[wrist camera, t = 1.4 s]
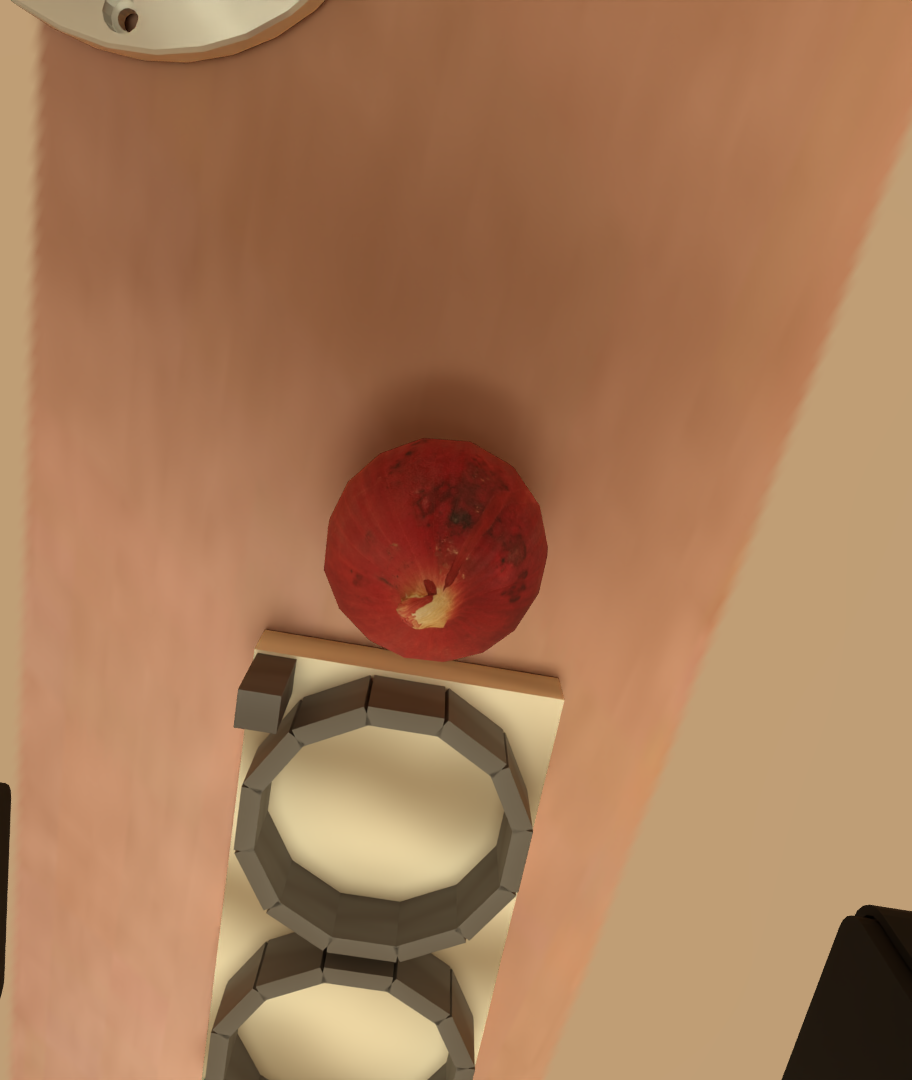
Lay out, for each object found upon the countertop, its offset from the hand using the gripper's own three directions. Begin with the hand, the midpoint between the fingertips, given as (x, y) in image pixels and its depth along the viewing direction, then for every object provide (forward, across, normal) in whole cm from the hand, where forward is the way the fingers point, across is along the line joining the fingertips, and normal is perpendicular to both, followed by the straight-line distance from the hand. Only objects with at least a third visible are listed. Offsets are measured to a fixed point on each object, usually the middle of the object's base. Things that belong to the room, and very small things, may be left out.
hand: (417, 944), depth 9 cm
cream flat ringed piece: (+18, 0, +14) cm, 22 cm away
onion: (+18, 0, 0) cm, 18 cm away
